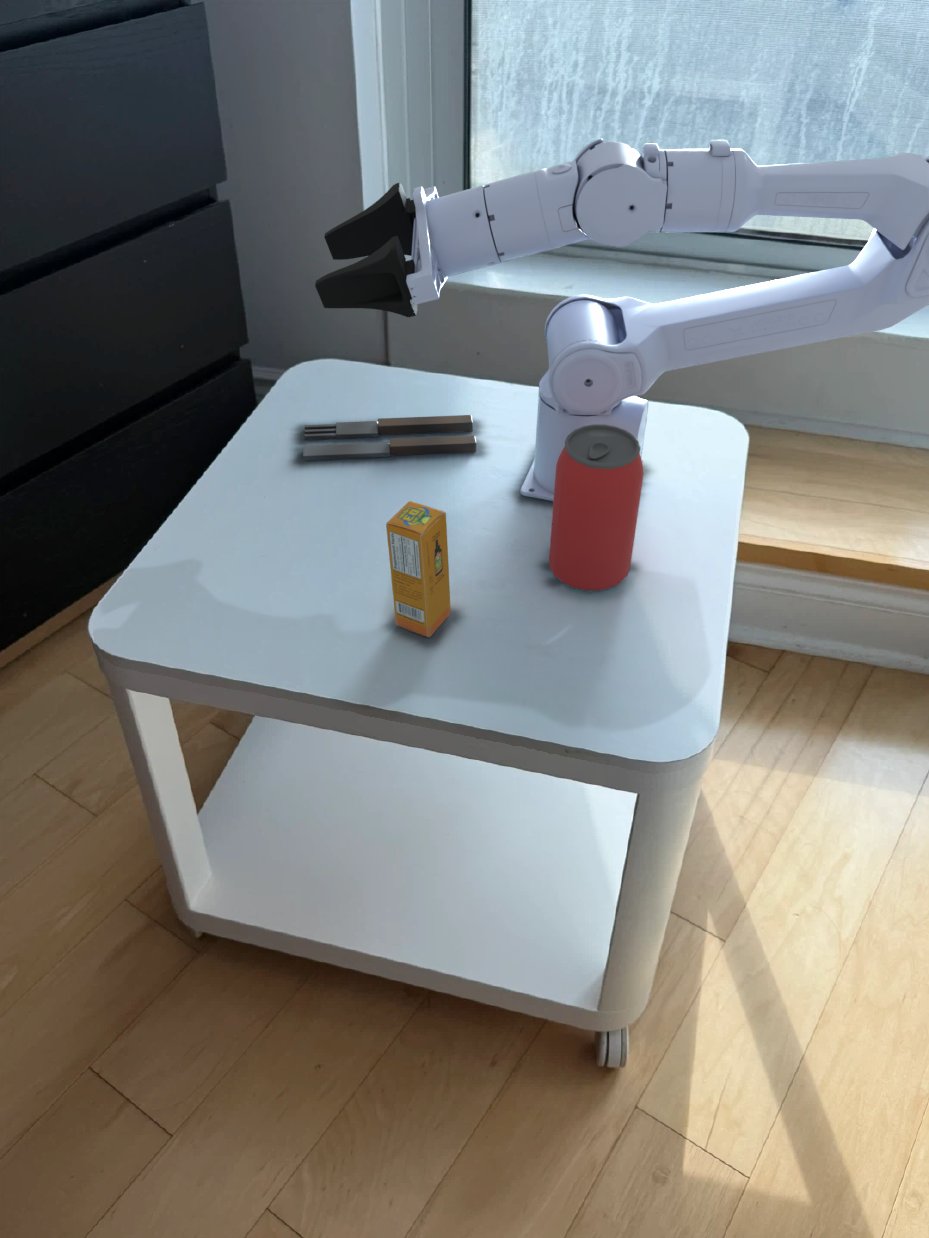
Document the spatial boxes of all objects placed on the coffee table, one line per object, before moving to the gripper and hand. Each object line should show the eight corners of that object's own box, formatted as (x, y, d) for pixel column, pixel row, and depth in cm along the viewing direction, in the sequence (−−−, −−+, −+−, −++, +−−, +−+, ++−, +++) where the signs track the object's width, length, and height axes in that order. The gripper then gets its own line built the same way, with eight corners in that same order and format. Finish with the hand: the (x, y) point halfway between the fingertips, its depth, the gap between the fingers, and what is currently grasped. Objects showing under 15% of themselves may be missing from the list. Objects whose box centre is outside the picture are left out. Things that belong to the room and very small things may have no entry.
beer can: (534, 579, 86) (543, 453, 78) (567, 535, 90) (579, 411, 82) (611, 605, 84) (627, 478, 76) (641, 558, 88) (660, 433, 80)
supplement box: (414, 600, 84) (410, 496, 77) (451, 615, 83) (451, 511, 76) (390, 625, 82) (384, 520, 75) (428, 641, 81) (426, 535, 74)
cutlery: (470, 421, 104) (471, 412, 103) (476, 453, 100) (476, 444, 99) (305, 428, 103) (303, 419, 102) (303, 460, 98) (302, 451, 98)
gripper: (477, 133, 83) (314, 181, 86) (479, 219, 73) (295, 269, 76) (500, 218, 88) (345, 260, 91) (505, 309, 78) (330, 353, 81)
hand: (324, 270), depth 84 cm, fingers open, 7 cm apart
